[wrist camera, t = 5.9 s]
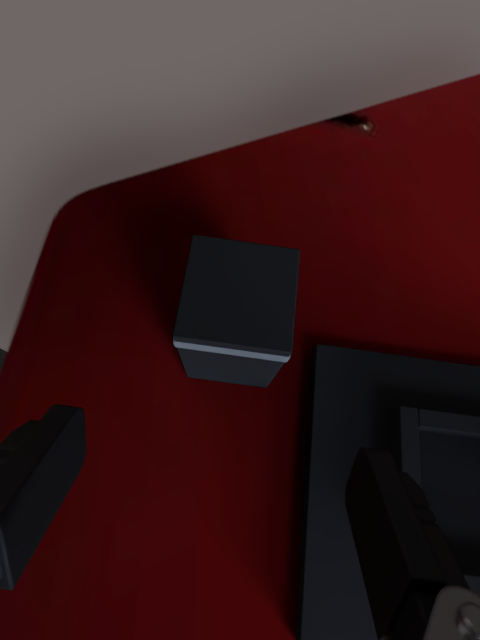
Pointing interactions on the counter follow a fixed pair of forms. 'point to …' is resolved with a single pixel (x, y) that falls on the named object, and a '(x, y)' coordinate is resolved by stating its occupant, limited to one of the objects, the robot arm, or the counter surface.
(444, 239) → the counter surface
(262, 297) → the pad block
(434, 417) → the base pad
